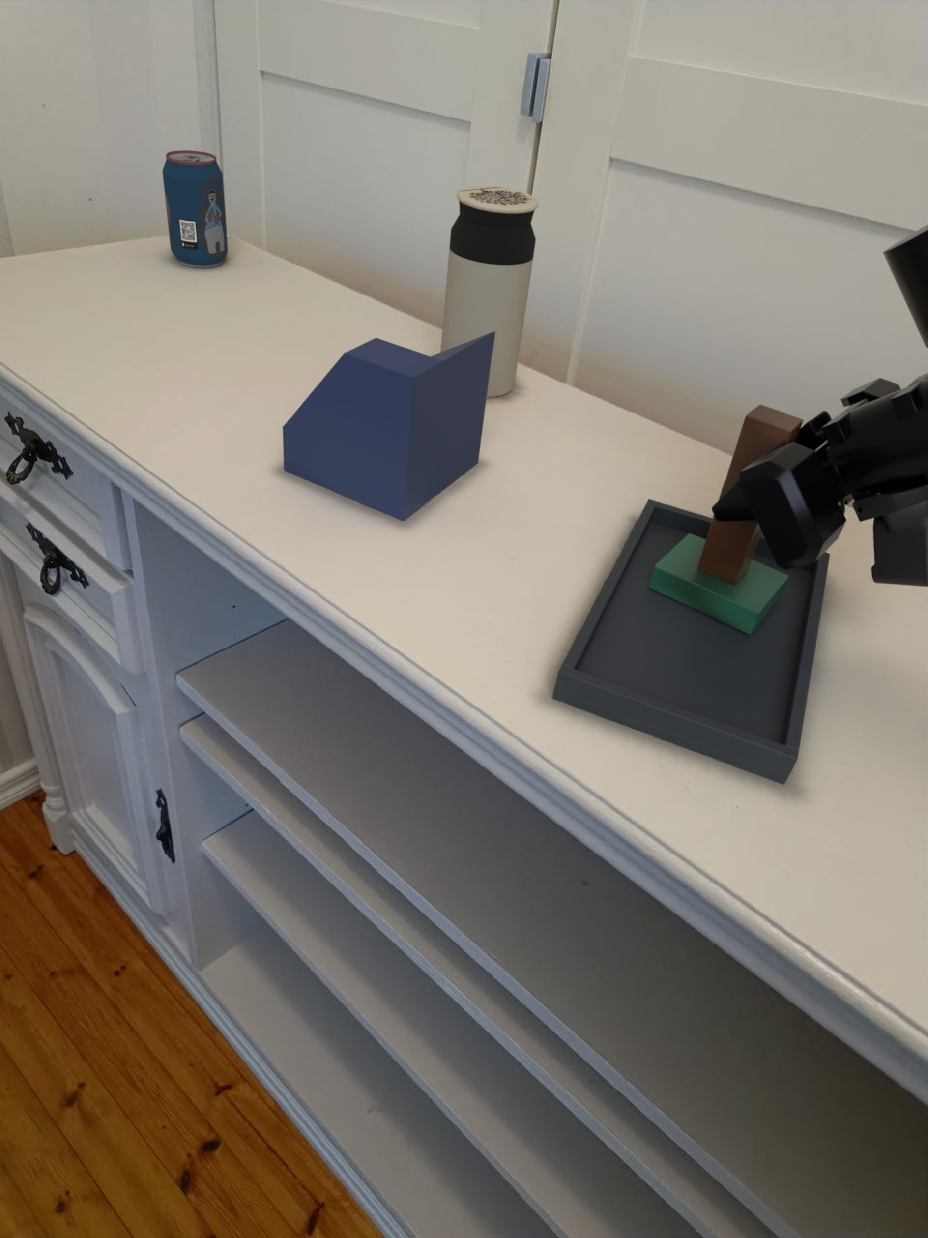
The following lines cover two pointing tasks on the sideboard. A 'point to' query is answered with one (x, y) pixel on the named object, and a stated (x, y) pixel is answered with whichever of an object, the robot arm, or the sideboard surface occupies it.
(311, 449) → the phone stand
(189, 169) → the soda can
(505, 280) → the travel mug
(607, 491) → the sideboard surface
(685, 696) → the tray
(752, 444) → the brown post on base
